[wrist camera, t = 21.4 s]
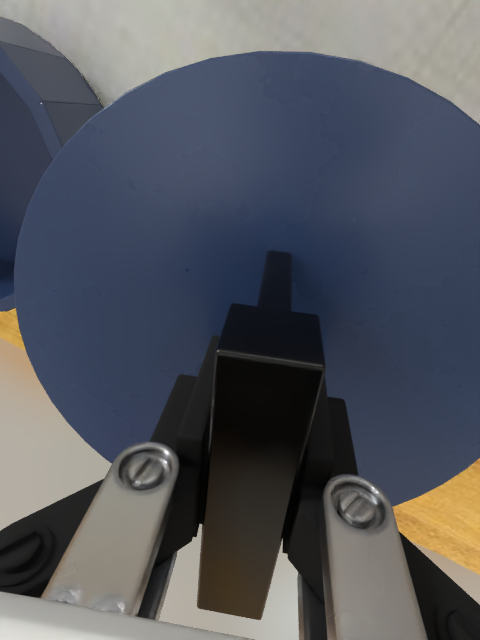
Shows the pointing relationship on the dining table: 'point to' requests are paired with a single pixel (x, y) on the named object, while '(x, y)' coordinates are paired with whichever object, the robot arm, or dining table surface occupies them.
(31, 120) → the pot
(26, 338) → the lid
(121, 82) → the dining table surface
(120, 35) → the dining table surface
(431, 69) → the dining table surface
